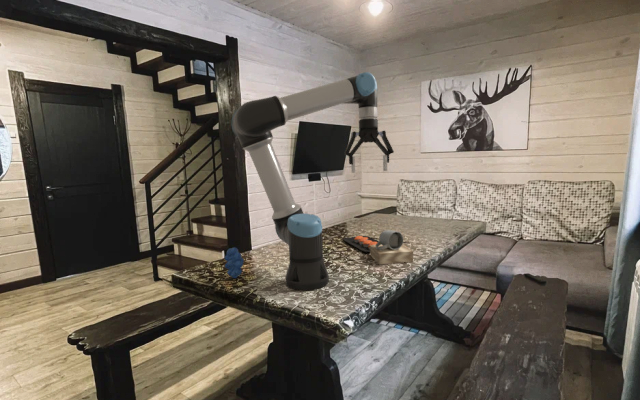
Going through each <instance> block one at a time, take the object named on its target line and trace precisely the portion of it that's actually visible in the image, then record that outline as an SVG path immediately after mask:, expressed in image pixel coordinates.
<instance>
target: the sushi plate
mask: <svg viewBox="0 0 640 400" xmlns="http://www.w3.org/2000/svg"><path fill="white" fill-rule="evenodd" d="M342 240H343V241H344V242H345V243H347V244H349V245H350V246H352V247H355V248H356V249H357V250H360V251H361V252H364V253H370V245H376V244H377V243H378V242H379V237H378V238H377V237H371V236H367V235H357V236H350V237H349V236H348V237H344V238H343V239H342ZM403 244H409V242H408V241H403Z"/></svg>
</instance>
